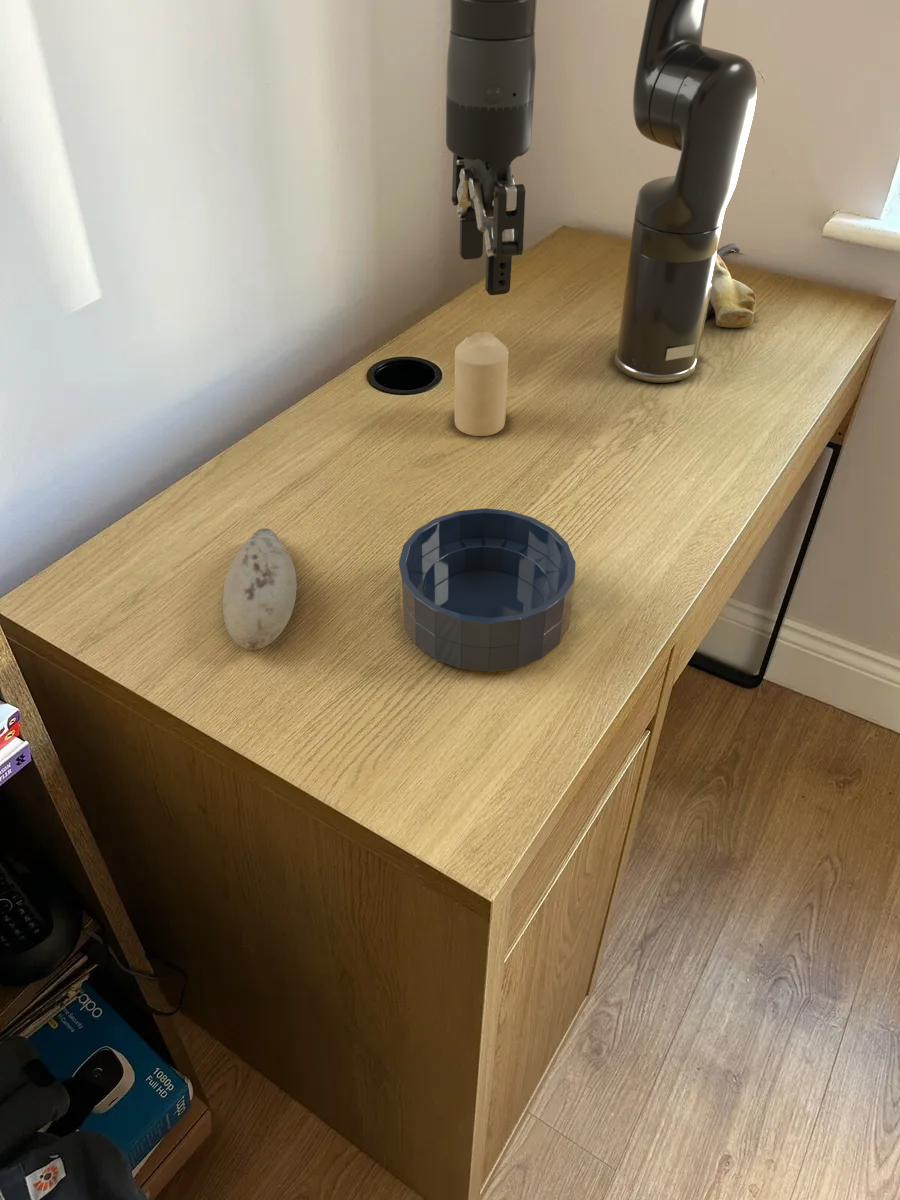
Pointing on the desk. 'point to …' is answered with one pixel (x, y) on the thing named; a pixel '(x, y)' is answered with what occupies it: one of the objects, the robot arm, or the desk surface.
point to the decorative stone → (259, 591)
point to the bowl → (486, 589)
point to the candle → (480, 384)
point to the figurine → (730, 298)
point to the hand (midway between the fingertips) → (483, 274)
